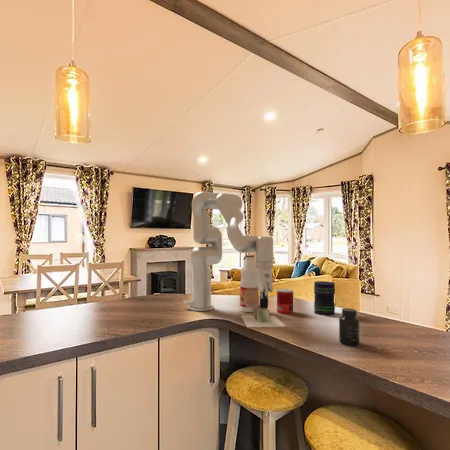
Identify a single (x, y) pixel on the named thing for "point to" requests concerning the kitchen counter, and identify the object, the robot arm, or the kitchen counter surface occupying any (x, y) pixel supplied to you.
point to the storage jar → (324, 298)
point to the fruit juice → (249, 285)
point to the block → (260, 313)
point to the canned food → (285, 301)
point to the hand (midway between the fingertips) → (263, 307)
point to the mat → (252, 322)
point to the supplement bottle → (349, 328)
